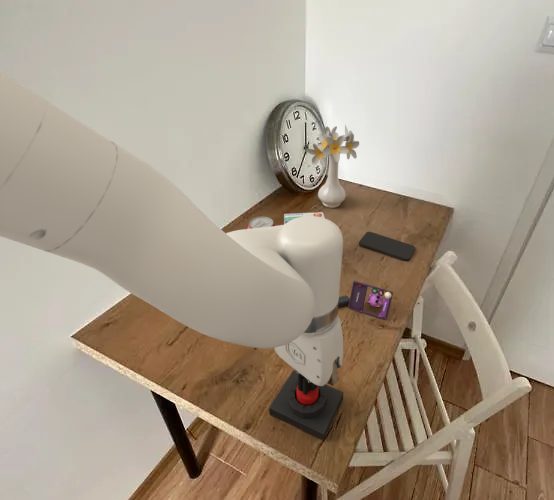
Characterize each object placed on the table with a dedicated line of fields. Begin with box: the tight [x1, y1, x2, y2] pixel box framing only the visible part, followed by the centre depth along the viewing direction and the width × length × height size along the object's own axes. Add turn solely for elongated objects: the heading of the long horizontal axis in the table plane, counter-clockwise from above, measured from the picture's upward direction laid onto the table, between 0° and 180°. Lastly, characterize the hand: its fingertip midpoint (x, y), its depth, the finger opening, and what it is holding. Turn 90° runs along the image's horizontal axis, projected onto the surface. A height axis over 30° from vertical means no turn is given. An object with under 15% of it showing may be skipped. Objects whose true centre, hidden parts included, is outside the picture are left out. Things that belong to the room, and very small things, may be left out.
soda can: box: [247, 215, 276, 229], centre depth 89 cm, size 7×7×12 cm
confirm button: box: [297, 386, 319, 405], centre depth 58 cm, size 4×4×2 cm
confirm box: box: [269, 369, 345, 442], centre depth 60 cm, size 10×8×4 cm
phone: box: [358, 231, 416, 262], centre depth 101 cm, size 7×1×15 cm
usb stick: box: [338, 294, 350, 308], centre depth 80 cm, size 10×3×2 cm, turn 112°
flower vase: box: [305, 124, 360, 209], centre depth 112 cm, size 13×18×25 cm
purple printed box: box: [347, 280, 394, 321], centre depth 80 cm, size 7×5×9 cm
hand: (308, 386), depth 57 cm, fingers closed
